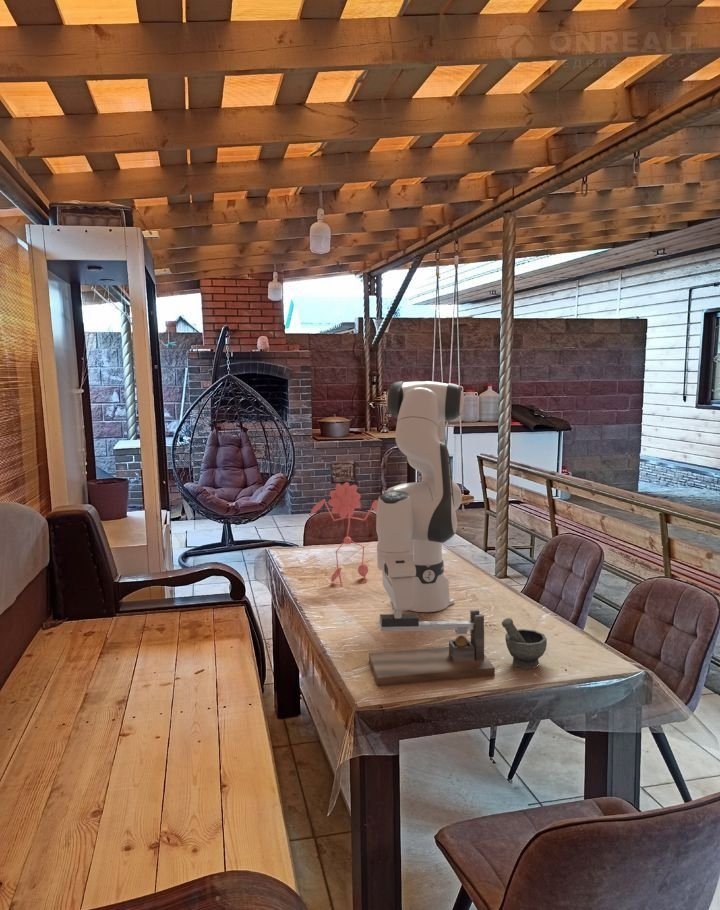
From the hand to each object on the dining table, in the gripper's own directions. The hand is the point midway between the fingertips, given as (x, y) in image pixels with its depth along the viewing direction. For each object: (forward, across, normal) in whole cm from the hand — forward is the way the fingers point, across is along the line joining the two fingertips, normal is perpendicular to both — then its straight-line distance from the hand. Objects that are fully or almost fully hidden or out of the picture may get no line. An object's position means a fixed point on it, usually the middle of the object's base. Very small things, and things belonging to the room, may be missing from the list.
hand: (396, 616), depth 157 cm
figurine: (+13, -76, -4) cm, 78 cm away
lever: (+5, 0, +8) cm, 9 cm away
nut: (+8, 0, +16) cm, 18 cm away
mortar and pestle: (+14, +2, +31) cm, 34 cm away
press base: (+14, 0, +8) cm, 16 cm away
